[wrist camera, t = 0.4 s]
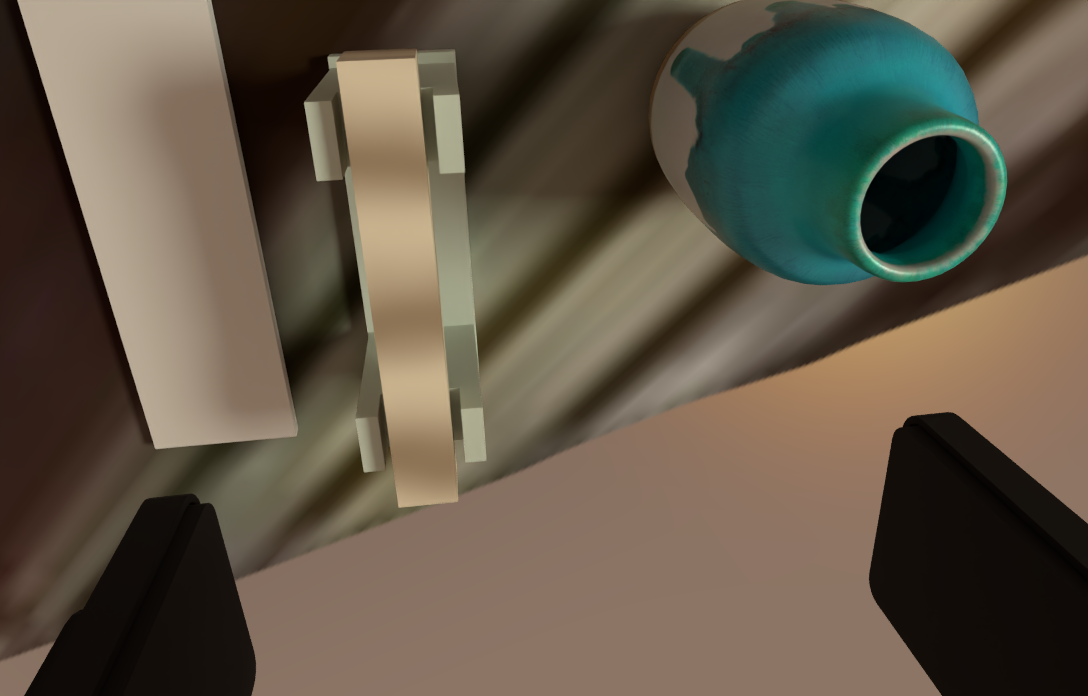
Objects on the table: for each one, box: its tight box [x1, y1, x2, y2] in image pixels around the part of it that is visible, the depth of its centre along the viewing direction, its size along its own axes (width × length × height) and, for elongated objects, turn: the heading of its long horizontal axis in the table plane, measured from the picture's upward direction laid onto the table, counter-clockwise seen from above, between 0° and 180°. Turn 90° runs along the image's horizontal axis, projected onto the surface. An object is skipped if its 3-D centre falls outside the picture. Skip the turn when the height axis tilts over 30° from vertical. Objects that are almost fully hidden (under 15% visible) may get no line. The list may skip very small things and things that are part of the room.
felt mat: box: [17, 0, 298, 449], centre depth 41 cm, size 24×8×1 cm, turn 2°
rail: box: [336, 48, 458, 507], centre depth 34 cm, size 20×3×3 cm, turn 2°
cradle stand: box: [304, 49, 486, 472], centre depth 38 cm, size 18×6×10 cm, turn 2°
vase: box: [649, 0, 1007, 285], centre depth 33 cm, size 11×11×19 cm
